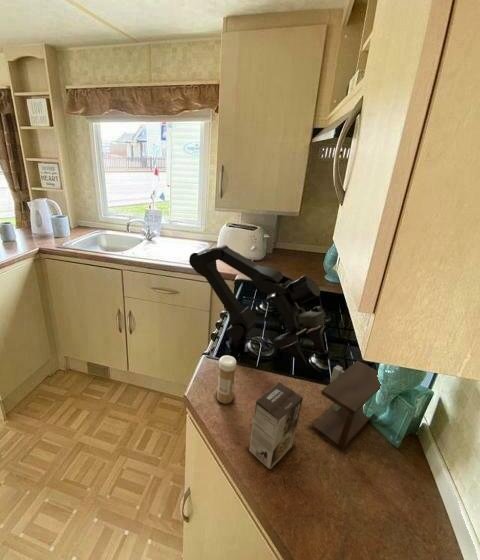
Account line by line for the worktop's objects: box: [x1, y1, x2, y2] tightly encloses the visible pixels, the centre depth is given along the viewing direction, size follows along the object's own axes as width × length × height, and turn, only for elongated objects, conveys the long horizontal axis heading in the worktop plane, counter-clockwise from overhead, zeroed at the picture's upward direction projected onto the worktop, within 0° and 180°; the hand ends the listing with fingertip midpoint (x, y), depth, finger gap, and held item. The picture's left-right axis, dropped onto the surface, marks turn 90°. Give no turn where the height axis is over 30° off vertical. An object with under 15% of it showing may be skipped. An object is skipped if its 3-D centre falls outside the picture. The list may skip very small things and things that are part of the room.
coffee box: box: [248, 381, 304, 470], centre depth 71 cm, size 9×6×16 cm
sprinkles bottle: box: [216, 355, 237, 404], centre depth 86 cm, size 5×5×14 cm
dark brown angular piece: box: [311, 360, 381, 451], centre depth 80 cm, size 8×18×13 cm, turn 129°
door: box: [329, 364, 345, 411], centre depth 85 cm, size 5×8×10 cm, turn 129°
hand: (314, 358), depth 90 cm, fingers open, 9 cm apart
